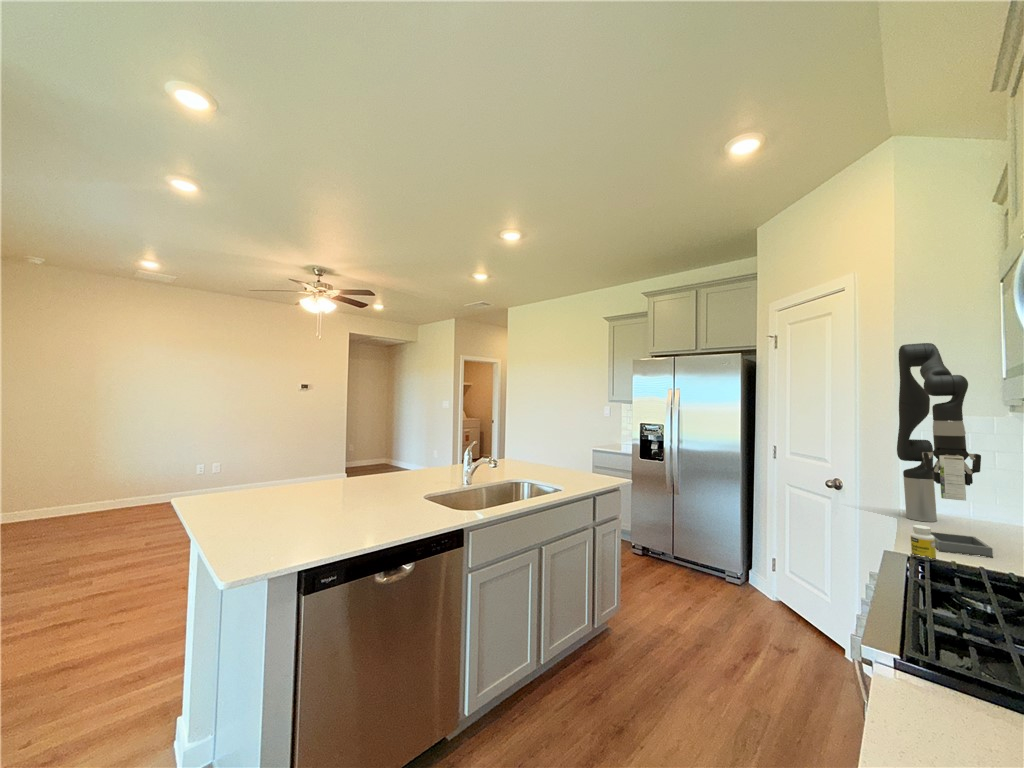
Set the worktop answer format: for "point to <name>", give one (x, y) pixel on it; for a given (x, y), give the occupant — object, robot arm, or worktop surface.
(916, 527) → the supplement bottle
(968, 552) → the tray
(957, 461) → the syrup box
